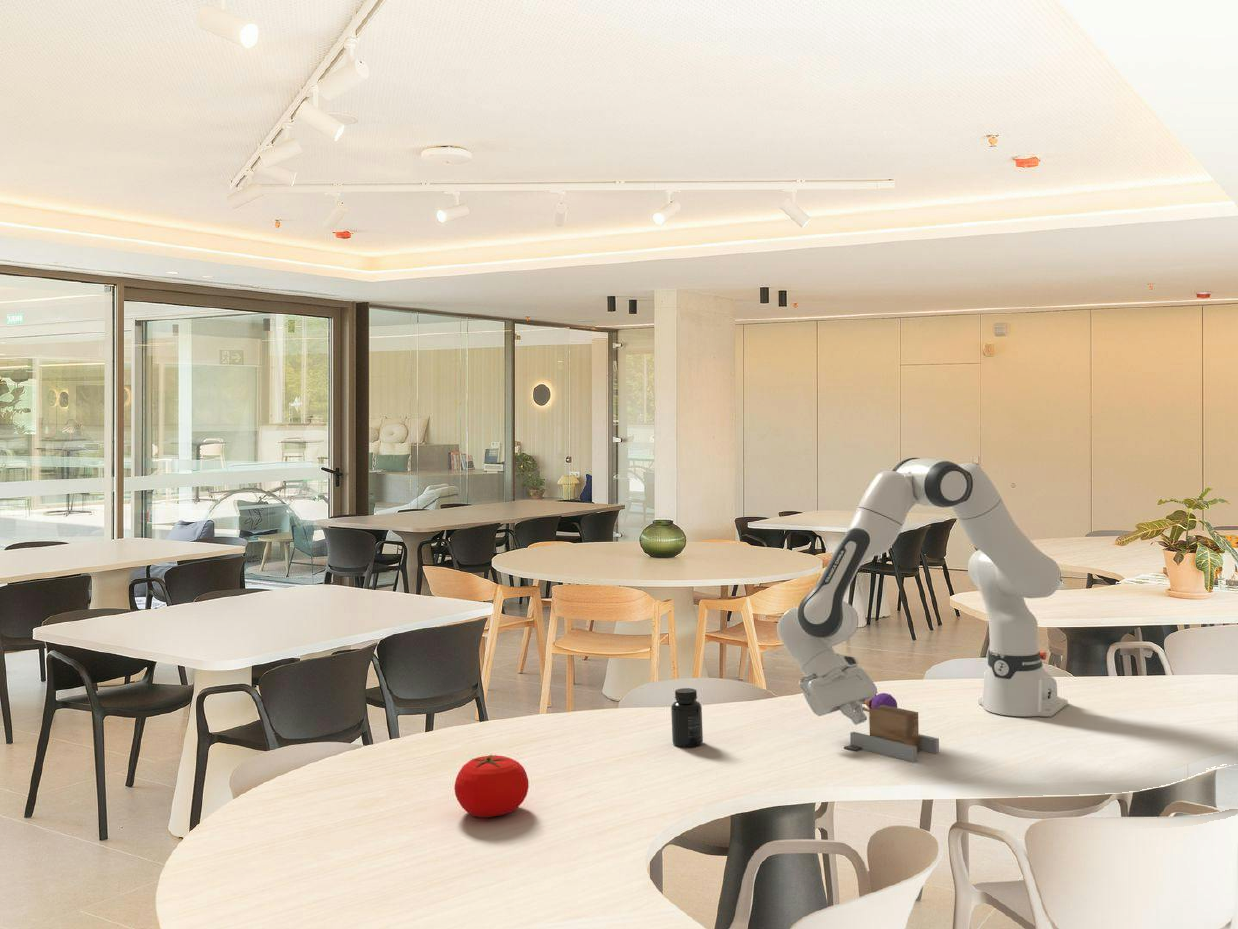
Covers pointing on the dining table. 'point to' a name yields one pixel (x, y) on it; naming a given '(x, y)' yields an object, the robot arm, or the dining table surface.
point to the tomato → (491, 786)
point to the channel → (892, 746)
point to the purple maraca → (881, 701)
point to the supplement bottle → (686, 719)
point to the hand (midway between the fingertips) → (861, 722)
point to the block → (894, 725)
